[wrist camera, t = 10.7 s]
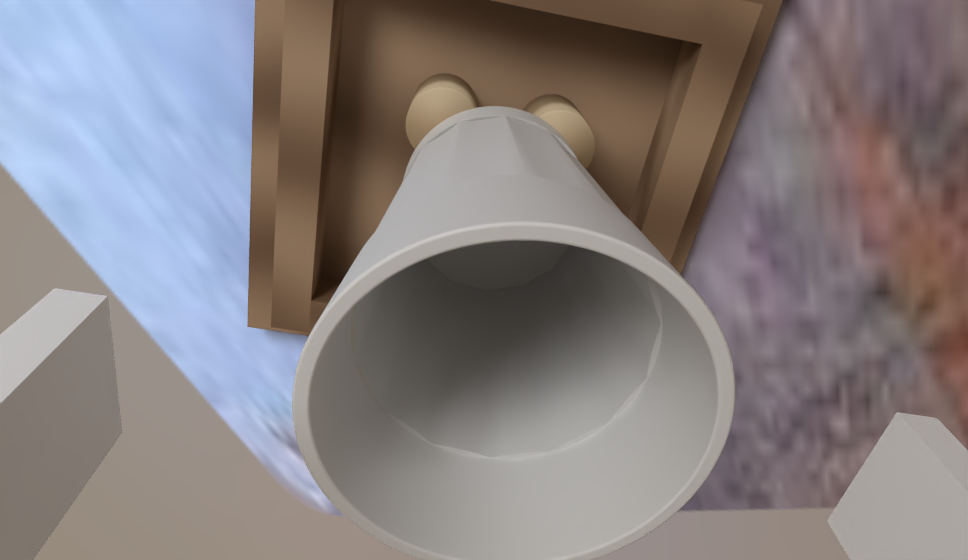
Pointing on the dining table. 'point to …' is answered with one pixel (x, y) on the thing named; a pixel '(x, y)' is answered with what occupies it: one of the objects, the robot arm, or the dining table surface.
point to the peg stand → (471, 84)
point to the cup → (510, 361)
